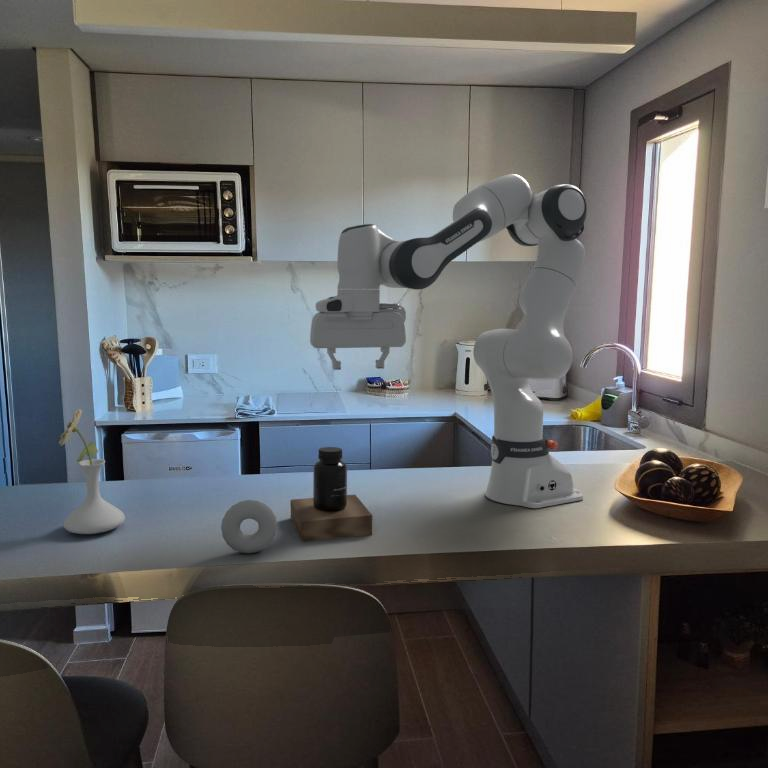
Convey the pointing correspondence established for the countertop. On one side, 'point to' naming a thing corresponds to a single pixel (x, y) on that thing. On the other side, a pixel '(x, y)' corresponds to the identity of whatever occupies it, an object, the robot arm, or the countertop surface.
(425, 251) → the robot arm
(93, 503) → the flower in vase
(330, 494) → the supplement bottle
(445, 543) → the countertop surface
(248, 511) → the donut
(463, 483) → the countertop surface
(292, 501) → the walnut base
